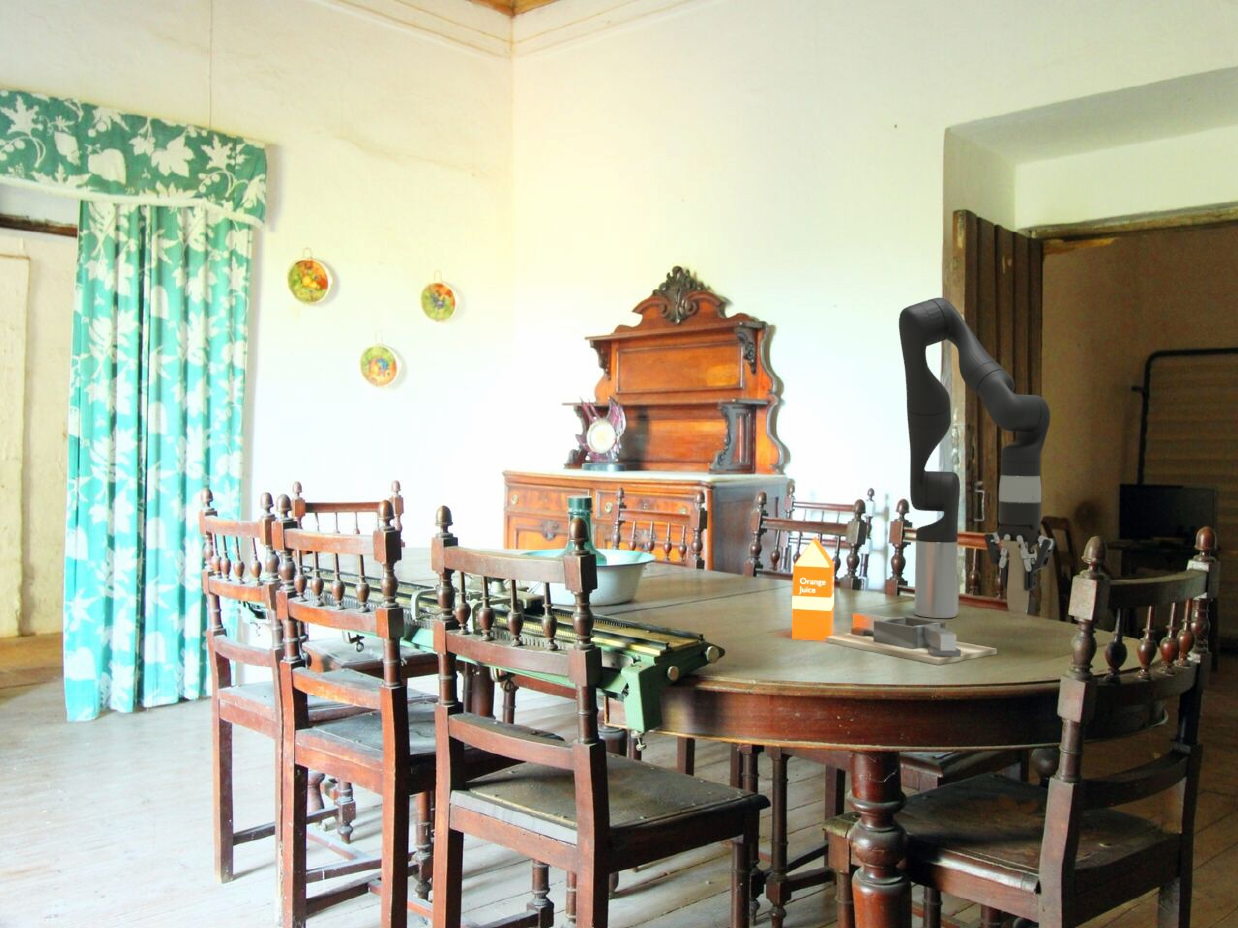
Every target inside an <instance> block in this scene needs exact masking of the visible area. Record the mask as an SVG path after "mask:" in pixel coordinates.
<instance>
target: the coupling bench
mask: <svg viewBox="0 0 1238 928" xmlns="http://www.w3.org/2000/svg"><path fill="white" fill-rule="evenodd" d="M923 625H937V626H939V627H941V628H943V629H945V630H946V622H942V621H936V620H930V619H923V618H917V617H911V616H907V615H906V616H900V617H892V618H891V619H884V620H879V621H878V620H877V621H874V635H871V636H865V637H862V636H857V635H852V634H851V632H850V633H849V632H848V633H843V634H837V635H832V636H828V637H826V641H825V643H828V644H829V643H830V644H833V645H838V646H844V647H848V648H853V649H857V650H859V649H860V650H862V651H868V652H873V653H874V652H875V653H877V654H883V655H887V656H888V655H889V656H891V657H892V656H893V657H898V658H903V659H907V660H912V661H916V662H922V663H927V664H930V665H931V664H932V665H935V666H936V665H937V666H942V665H946V664H952V663H956V662H961V661H966V660H973V659H978V658H983V657H987V656H988V657H989V656H993V655H997V649H998V648H994V647H991V646H984V645H977V644H973V643H968V642H962V641H961V642H960V641H957V640H956V648H958V649H960V650H961V657H940V656H932V655H930V654H928V647H933V646H932V645H930V644H928V643H926V642H924V641H923V637H924V626H923Z"/></svg>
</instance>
